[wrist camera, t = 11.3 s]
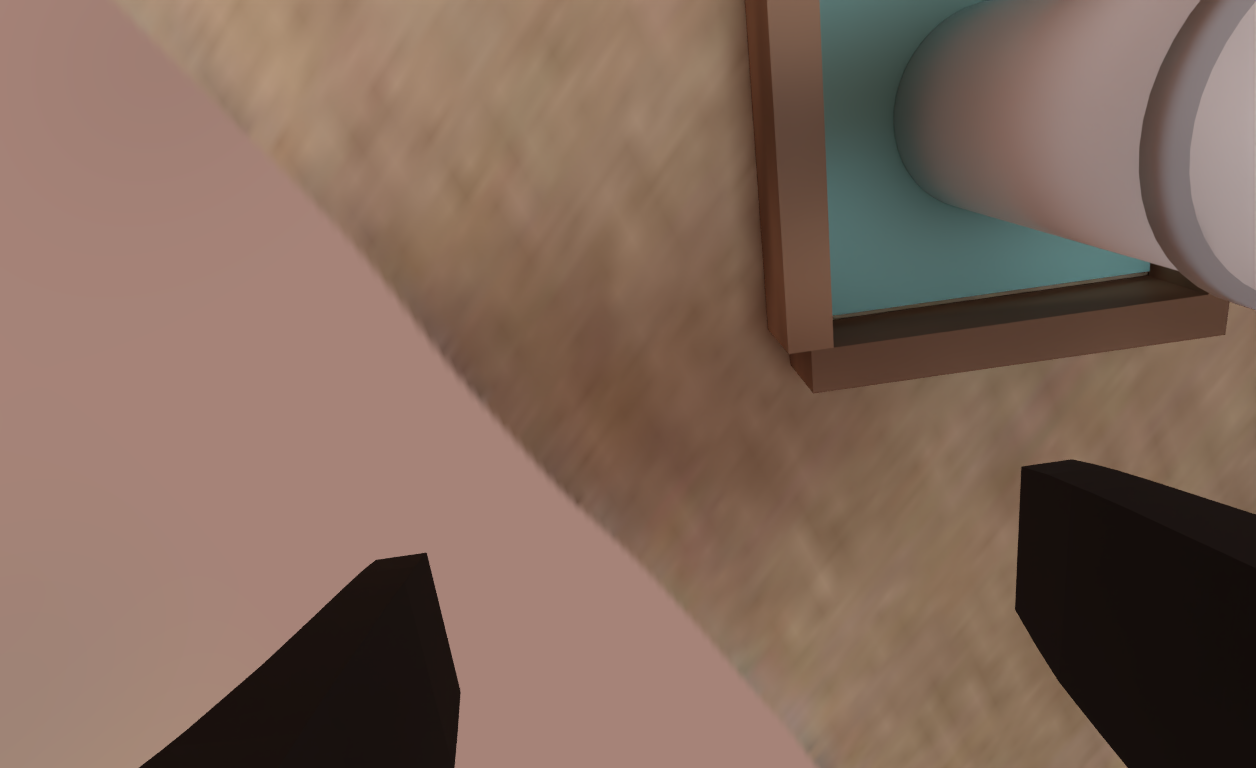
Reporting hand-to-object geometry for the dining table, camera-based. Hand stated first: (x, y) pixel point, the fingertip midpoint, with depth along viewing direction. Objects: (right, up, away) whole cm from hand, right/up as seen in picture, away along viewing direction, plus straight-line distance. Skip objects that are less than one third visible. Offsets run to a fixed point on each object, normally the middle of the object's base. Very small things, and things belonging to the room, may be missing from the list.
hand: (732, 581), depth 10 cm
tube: (+7, +8, +8) cm, 14 cm away
